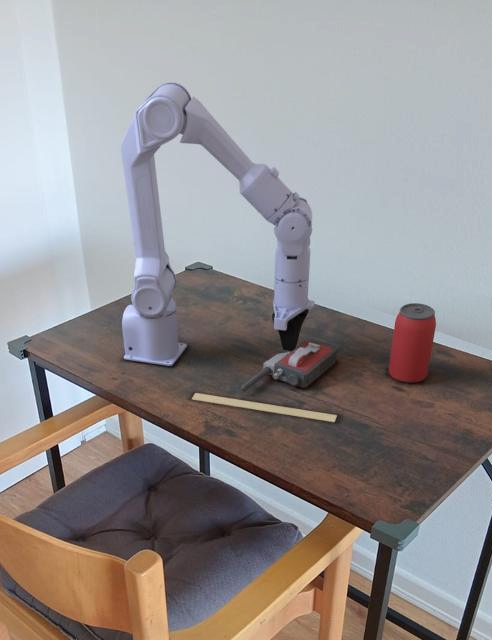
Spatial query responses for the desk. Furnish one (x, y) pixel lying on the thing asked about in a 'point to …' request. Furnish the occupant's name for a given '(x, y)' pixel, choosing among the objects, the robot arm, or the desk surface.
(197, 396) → the tape line
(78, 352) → the desk surface
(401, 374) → the beer can
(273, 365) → the walkie-talkie
